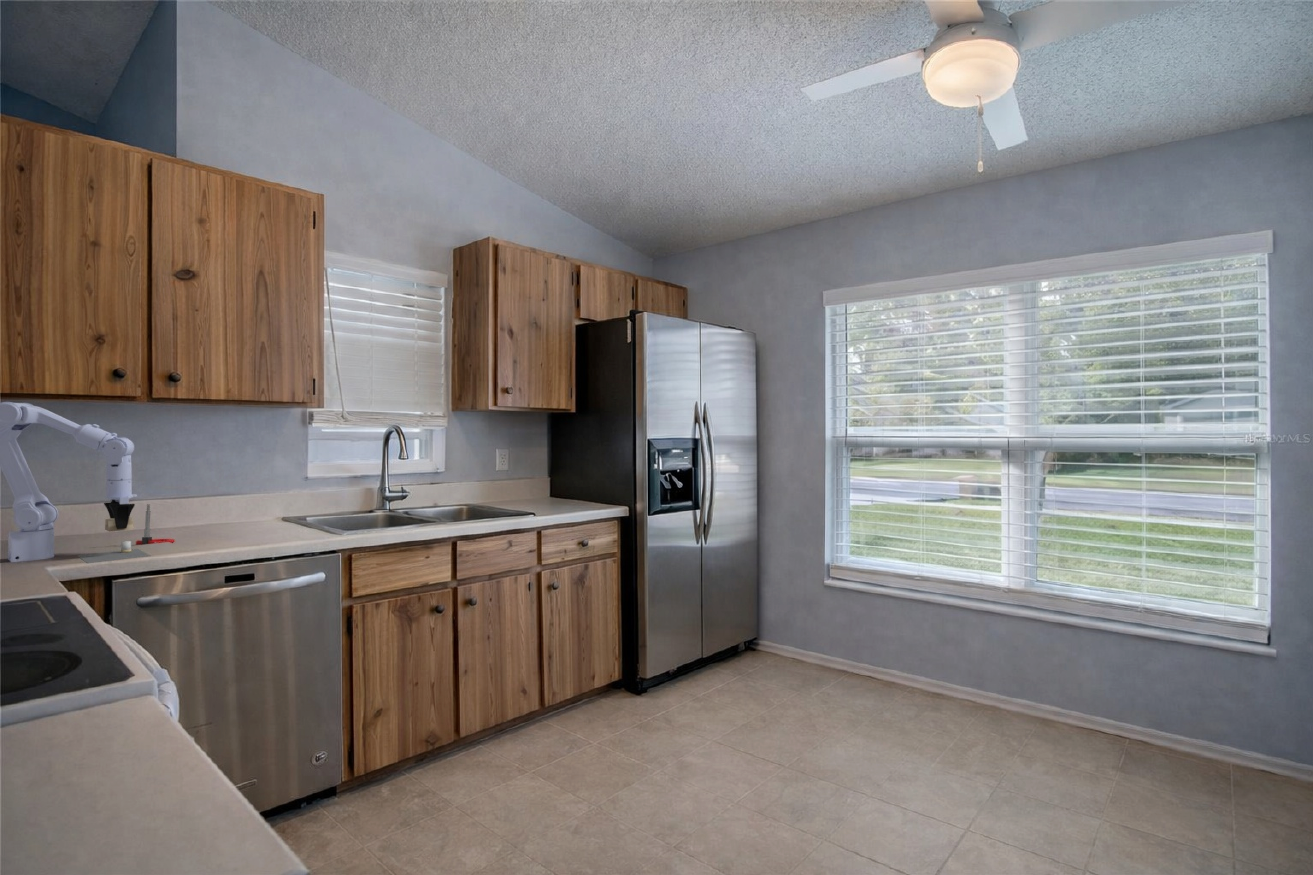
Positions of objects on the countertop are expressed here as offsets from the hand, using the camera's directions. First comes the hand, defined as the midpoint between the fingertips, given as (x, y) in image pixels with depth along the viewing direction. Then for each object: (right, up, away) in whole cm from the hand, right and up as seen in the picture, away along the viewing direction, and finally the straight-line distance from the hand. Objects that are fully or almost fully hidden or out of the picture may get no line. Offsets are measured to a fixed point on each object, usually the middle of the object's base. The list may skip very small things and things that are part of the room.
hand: (119, 527), depth 195 cm
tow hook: (-7, -9, +24) cm, 27 cm away
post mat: (0, -9, -2) cm, 9 cm away
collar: (0, -1, 0) cm, 0 cm away
